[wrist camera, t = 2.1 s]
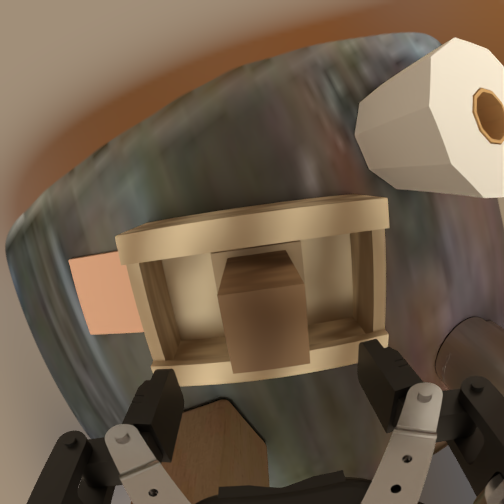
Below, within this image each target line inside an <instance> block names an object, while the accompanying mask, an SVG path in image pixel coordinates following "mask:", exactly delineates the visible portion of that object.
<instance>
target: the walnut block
mask: <svg viewBox="0 0 504 504" xmlns="http://www.w3.org/2000/svg"><path fill="white" fill-rule="evenodd" d="M217 298H218V303H219V308H220V313H221V318H222V323H223V328H224V333H225V338H226V343H227V348H228V352H229V357H230V362H231V366H232V371H233V374H237V373H247V372H255V371H263V370H271V369H278V368H285V367H292V366H298V365H304V364H310V351H309V336H308V322H307V309H306V297H305V285H304V282H303V280H302V278H301V277H300V275H299V273H298V271H297V269H296V268H295V266H294V264H293V262H292V260H291V259H290V257H289V255H288V253H287V252H286V250H281V251H274V252H267V253H260V254H253V255H245V256H238V257H231V258H227V261H226V265H225V268H224V272H223V276H222V279H221V283H220V287H219V290H218V294H217Z"/></svg>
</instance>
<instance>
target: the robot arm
mask: <svg viewBox="0 0 504 504" xmlns="http://www.w3.org/2000/svg"><path fill="white" fill-rule="evenodd" d="M436 373H437V375H438V377H439V378H440V379H441V380H442V381H443V382H444V383H445V385H446V386H447V387H448V388H449V389H450V390H447V391H442V390H441V389H440V388H439V387H438V386H437V385H435V384H432V383H426V382H423V381H422V380H421V379H420V378H419V376H418V375H417V374H416V373H415V371H414V370H413V369H412V368H411V367H410V365H408V363H407V362H406V361H405V359H403V357H402V356H401V355H400V353H399V352H398V351H396V350H394V349H392V348H390V347H386V348H384V347H383V346H382V345H381V344H380V342H379V341H378V340H377V339H373V340H369V341H364V342H360V343H359V349H358V379H359V382H360V384H361V386H362V388H363V390H364V392H365V394H366V396H367V397H368V399H369V401H370V403H371V405H372V407H373V409H374V411H375V412H376V414H377V416H378V418H379V420H380V422H381V424H382V426H383V428H384V430H385V432H386V433H389V432H392V431H393V433H392V436H391V439H390V441H389V444H388V446H387V449H386V451H385V453H384V456H383V458H382V460H381V463H380V465H379V467H378V469H377V472H376V474H375V476H374V478H373V480H372V481H371V480H367V479H363V478H353V477H345V476H344V473H343V470H341V471H337V472H333V473H328V474H323V475H319V476H313V477H311V478H308V479H305V480H303V481H300V482H298V483H295V484H292V485H289V486H286V487H283V488H273V487H261V486H252V485H244V486H225V487H219V489H218V495H214V496H211V497H207V498H205V499H203V500H200V501H199V502H197V503H195V504H423V503H421V502H418V500H419V498H420V495H421V492H422V489H423V486H424V483H425V479H426V476H427V472H428V469H429V466H430V462H431V458H432V455H433V451H434V447H435V443H436V442H441V441H446V442H447V443H448V445H449V447H450V449H451V450H452V452H453V454H454V455H455V457H456V459H457V461H458V463H459V464H460V466H461V468H462V470H463V472H464V473H465V475H466V477H467V479H468V481H469V482H470V485H471V486H472V488H473V490H474V492H475V494H476V496H477V497H476V499H475V501H474V503H473V504H504V329H503V328H501V327H500V326H499V325H497V324H496V323H494V322H493V321H491V320H490V321H485V320H484V319H482V318H479V317H472V318H469V319H467V320H465V321H463V322H462V323H460V324H459V325H458V326H457V327H456V328H455V329H454V330H453V331H452V332H451V333H450V334H449V336H448V337H447V338H446V340H445V341H444V343H443V345H442V346H441V348H440V351H439V353H438V356H437V360H436ZM183 409H184V399H183V395H182V392H181V389H180V386H179V383H178V380H177V377H176V374H175V372H174V370H173V369H156V370H155V371H154V374H153V376H152V378H151V380H146V381H145V382H144V383H143V384H142V385H141V386H140V387H139V388H138V390H137V392H136V394H135V397H134V398H133V401H132V403H131V405H130V407H129V409H128V412H127V414H126V416H125V418H124V421H123V423H122V424H120V425H117V426H114V427H112V428H111V429H110V430H109V431H108V432H107V433H106V435H105V437H104V438H97V439H89V440H88V439H87V438H86V437H85V435H84V434H83V433H82V432H80V431H70V432H67V433H65V434H63V435H62V436H61V437H60V438H59V439H58V440H57V442H56V444H55V446H54V448H53V450H52V452H51V454H50V456H49V458H48V460H47V462H46V464H45V466H44V468H43V470H42V472H41V474H40V476H39V478H38V480H37V482H36V485H35V487H34V489H33V491H32V493H31V495H30V498H29V500H28V502H27V504H111V500H112V496H113V493H114V489H115V486H116V485H123V486H124V488H125V489H126V491H127V493H128V495H129V497H130V499H131V501H132V502H133V504H191V503H190V502H189V501H188V499H187V498H186V497H185V496H184V494H183V493H182V492H181V491H180V489H179V488H178V487H177V485H176V484H175V483H174V482H173V480H172V479H171V478H170V476H169V475H168V473H167V472H166V471H165V469H164V468H163V466H162V465H161V463H162V462H170V463H171V462H172V457H173V452H174V448H175V444H176V439H177V435H178V430H179V426H180V422H181V418H182V413H183ZM81 478H82V480H81ZM80 481H81V482H80ZM79 484H80V485H79ZM78 486H79V488H78Z"/></svg>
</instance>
